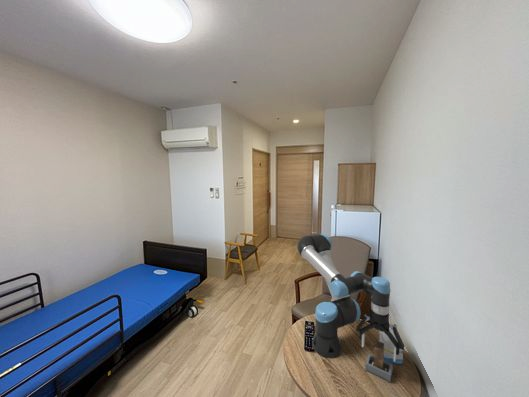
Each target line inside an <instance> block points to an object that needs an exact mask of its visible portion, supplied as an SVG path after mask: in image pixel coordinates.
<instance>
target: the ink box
mask: <svg viewBox="0 0 529 397" xmlns="http://www.w3.org/2000/svg"><path fill="white" fill-rule="evenodd" d="M390 332H391V333H392V335H393V336H394V337H395V335H394V333H393V331H392V330H390ZM395 339H396V337H395ZM396 340H397V339H396ZM379 342H382V343H384V361H386V362H389V363H391V364H397V365H403V363H404V350H402V349H399V355H397V354H396V361H395V362H394V361H393V360H394V344H393V343H392V341H391V340H390V339H389V337H388V336H387V335H386V334H385V333H384V331H383V332H382V331H380V330H379ZM397 342H398V341H397Z"/></svg>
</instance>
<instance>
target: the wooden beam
mask: <svg viewBox="0 0 529 397" xmlns="http://www.w3.org/2000/svg"><path fill="white" fill-rule="evenodd" d="M373 347H374V350H373V352H374V354H373V356H374V366H375V367H377V368H379V369H382V370H383V369H384V343H382V342H380V340H375V342H374V346H373Z"/></svg>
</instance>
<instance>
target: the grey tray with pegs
mask: <svg viewBox="0 0 529 397" xmlns="http://www.w3.org/2000/svg"><path fill="white" fill-rule="evenodd" d="M393 364H394V363H389V362H386V361H384V369H383V370H382V369H379V368H377V367H375V366H374V354H373V355H372V354H370V353H368V355H367V358H366V362H365V364H364V365H365V366H364V367H365V368H364V369H365V371H366V372H367V373H370V374H372V375H374V376H376V377H377V378H380V379H382V380H383V381H386V382H388V383H392V382H391V381H392V375H393Z"/></svg>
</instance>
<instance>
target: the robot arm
mask: <svg viewBox="0 0 529 397" xmlns="http://www.w3.org/2000/svg"><path fill="white" fill-rule="evenodd" d="M332 244H333V243H332V241H331V239H330V237H329V235H327V234H325V233H316V234H310V235H304V236H302V237H300V238H299V240H298V242H297V251H298V254H299V256H301V258H302V259H304V260H307V261H308V262H309V263H310V264H311V266H313V268H314V269H316V271H318V273H319V274H320V275H321V276H322V277H323V278H324V280H325V283H326V285H327V287H328V290H329V293H330V295H331V300H330V301H328V302H327V301H323V302H320V303H319V304H317V305H316V307H315V314H314V316H315V333H314V334H313V338H312V348H313V347H314V348H313V350H314V351H315V352H316V353H317V354H318V355H319V356H321V357H324V358H327V359H329V358H331V359H332V358H336V357H338V356H339V355H340V354H341V351H342V346H341V344H342V343H341V341H340V339H339V336H338V329H339V328H343V327H346V326H349V325H351V324H354V323H356V322H358V321H359V320H360V319H361V308H360V305H359V303H358V302H357V301H356V299H353V298H352V297H351V295H352V294H357V293H360V292H365V293H366V294H368V295H369V296H370V295H371V297H370V299H371V301H370V316H369V315H368V314H367V313H364V315H363V318H362V320H361V321H360V322H359V324H357V327H356V328H355V331H356V332H358V333H359V339H360V340H361V347H362V348H364V347H365V344H366V343H365V339H366V333H367V332H368V331H370V330H372V329H374V330H376V331H377V330H378V331H379V332H380V331H382V332H383V331H384V333H385V334H386V335H387V336H388V337H389V339H390V340H391V341H392V343H393V344H394V360H393V361H394V362H395V361H396V354H397V355H399V349H402V350H403V351H404V350H405V344H404V341H403V339H402V337H401V335H400V333H399V331H398V326H397V324H394V323H393V324H391V323H390V296H391V283H390V281H389V280H388V279H387V278H385V277H381V276H374V277H371V276H369V275H367V274H365V273H364V272H361V271H357V270H356V271H353V272H352V273H351V274H350V276H348V277H345V276H344V275H342V273H341V272H339V271H338V270H337V268H336V266H335V263H334V261H333V259H332V258H333V257H331V256H332V255H331V252H332V250H331V249H332V247H333V245H332ZM368 321H369V322H370V323H369V324H367V325H365V326H364V324H365V323H366V322H368ZM363 326H364V327H363ZM390 329H391V330H390ZM390 331H393V333H394V335H395V337H396V339H397V340H396V339H395V337H394V336H393V335H392V333H391V332H390ZM397 341H398V342H397Z"/></svg>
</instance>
